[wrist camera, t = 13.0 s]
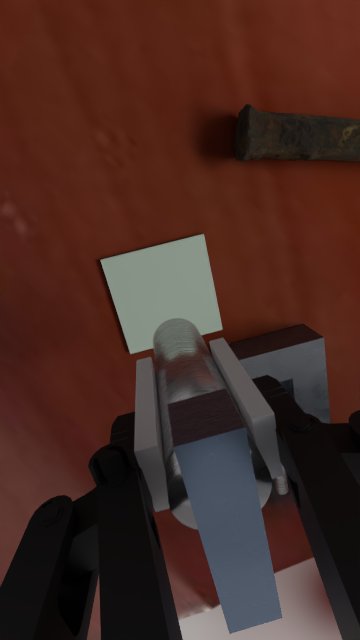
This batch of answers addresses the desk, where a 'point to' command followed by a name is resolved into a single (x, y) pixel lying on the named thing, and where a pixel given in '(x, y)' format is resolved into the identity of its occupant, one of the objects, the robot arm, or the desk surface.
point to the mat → (162, 289)
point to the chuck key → (215, 474)
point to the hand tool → (295, 136)
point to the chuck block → (289, 370)
